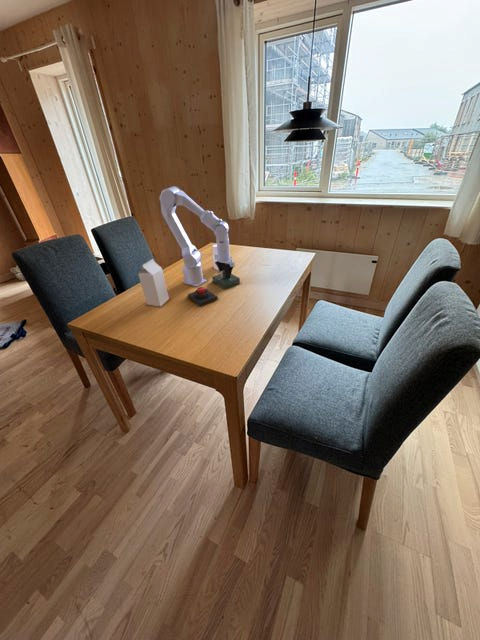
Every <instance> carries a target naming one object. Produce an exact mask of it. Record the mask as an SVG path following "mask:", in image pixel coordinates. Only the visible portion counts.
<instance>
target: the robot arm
mask: <svg viewBox="0 0 480 640" xmlns="http://www.w3.org/2000/svg"><path fill="white" fill-rule="evenodd" d="M158 200H159V202H160V210H161V211H160V212H161V215H162V216H163V219H164V220H165V222H166V224H167V226H168V227H169V230H170V231H171V234H172V235H173V236H174V238H175V240H176V242H177V244H178V246H179V247H180V249H181V256H182V258H183V263H184V265H183V267H182V276H183V282H182V283H183V284H186V285H190V286H194V287H200V286H201V285H203V284H205V283H206V282H207V281H208V279H206V278H204V275H203V268H202V263H201V260H202V253H201V252H200V251H199V250H198V249H197V247H196V245H194V244H193V243H192V242H191V240H190V238H189V236H188V235H187V233H186V231H185V229H184V227H183V225H182V223H181V222H180V219H179V218H178V215H177V213H176V209H177V206H183V207H185V208H187V209H188V210H189V211H191V212H192V213H193V214H195V215H196V216H198V217H199V219H200V222H201V223H202V224H203V225H205V226H206V227H207V228H208V229H209V230H211V231H212V232H213V234H214V236H215V240H216V241H215V242H216V245H217V252H218V254H217V255H214V257H215V259H217V260H218V261H217V262H215V264H216V265H217V267H218V269H219V270H218V271H219V274H221V273H220V271H222V270H224V271H225V275H226V278H227V279H228V278H230V277H231V274H232V272H233V269H234V267H235V266H236V261H234V260H233V257H232V256H231V249H230V239H229V230H230V226H229V224H228V223H227V221H225V220H222V218H219V217H218V216H216V214H214V211H212V210H208V209H206V210H204V208H202V207H201V206H200V205H198V203H196V202H195V201H194V200H193V199H192V198H191V197H190V196H188V194H186V192H185V191H183V190H181V189H180V188H179V187H178V186H174V185H171V186H170V187H168V188H164V189H163V190H161V192H160V195H159V197H158Z"/></svg>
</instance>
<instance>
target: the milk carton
mask: <svg viewBox="0 0 480 640" xmlns="http://www.w3.org/2000/svg"><path fill="white" fill-rule="evenodd" d="M137 275H138V278H139V281H140V285H141V288H142V292H143V296H144V299H145V302H146V305H148V306H153V307H154V306H155V307H162V306H163V305H164V304H165V303H167V301H168V300H170V296H169V293H168V288H167V284H166V279H165V275H164V271H163V268H162V267H161V266H160V265H159V264H158V263H157V262H155V260H154V258H152V259H150V260H148V261H146V262H145V263H143V264H142V266H141V269H140V271H139V272H138V273H137Z"/></svg>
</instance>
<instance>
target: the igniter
mask: <svg viewBox="0 0 480 640" xmlns="http://www.w3.org/2000/svg"><path fill="white" fill-rule="evenodd" d="M205 290H206V293H204V294H198V291H197V289H196V290H194V291H193V292H190V293H187V298H188V299H189V300H191V301H192V302H194V303H195V304H196V305H198V306H199V307H203V306H205V305H207V304H210V303H213V302H215V301H218V295H215V293H213V292H211V291H210V289H208V288H205Z"/></svg>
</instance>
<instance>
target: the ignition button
mask: <svg viewBox="0 0 480 640" xmlns="http://www.w3.org/2000/svg"><path fill="white" fill-rule="evenodd" d="M205 289H206V287H204V286H199V287H197V289H196V290H197V291H198V294H204V293H206V290H205Z"/></svg>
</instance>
